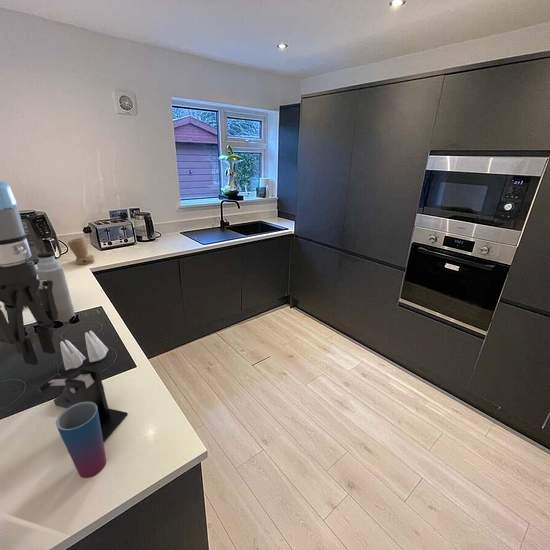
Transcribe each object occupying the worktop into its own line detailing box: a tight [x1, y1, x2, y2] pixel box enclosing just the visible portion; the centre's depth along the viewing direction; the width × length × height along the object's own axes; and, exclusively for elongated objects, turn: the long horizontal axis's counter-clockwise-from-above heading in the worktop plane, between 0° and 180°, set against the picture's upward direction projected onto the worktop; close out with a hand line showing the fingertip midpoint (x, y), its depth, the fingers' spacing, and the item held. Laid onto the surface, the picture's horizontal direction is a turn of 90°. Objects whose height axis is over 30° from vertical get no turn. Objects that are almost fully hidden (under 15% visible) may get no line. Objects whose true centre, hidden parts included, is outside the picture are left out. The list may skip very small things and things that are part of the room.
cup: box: [55, 402, 107, 479], centre depth 59 cm, size 7×7×15 cm
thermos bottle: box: [36, 251, 76, 323], centre depth 112 cm, size 8×8×28 cm
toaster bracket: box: [65, 366, 129, 444], centre depth 68 cm, size 11×9×16 cm
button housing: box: [53, 383, 105, 409], centre depth 78 cm, size 8×8×4 cm
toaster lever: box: [36, 373, 94, 394], centre depth 67 cm, size 13×5×2 cm, turn 77°
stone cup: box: [67, 237, 95, 265], centre depth 179 cm, size 15×12×15 cm
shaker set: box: [59, 330, 109, 371], centre depth 91 cm, size 12×4×11 cm, turn 119°
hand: (40, 357), depth 66 cm, fingers open, 3 cm apart
